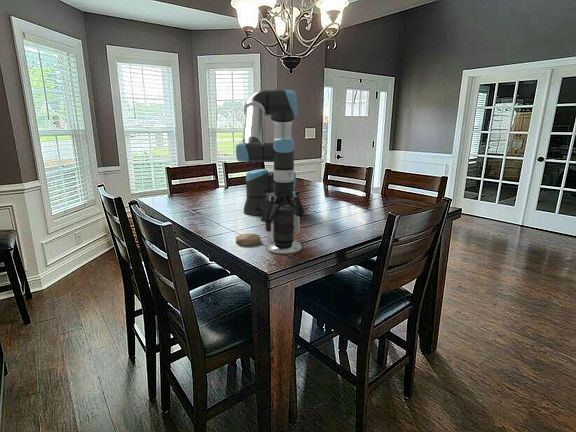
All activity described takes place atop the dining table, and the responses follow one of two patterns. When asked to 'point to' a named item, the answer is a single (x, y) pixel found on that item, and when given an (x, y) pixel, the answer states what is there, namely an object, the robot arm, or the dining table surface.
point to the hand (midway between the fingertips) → (283, 235)
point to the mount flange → (273, 249)
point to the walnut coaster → (248, 239)
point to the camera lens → (283, 227)
